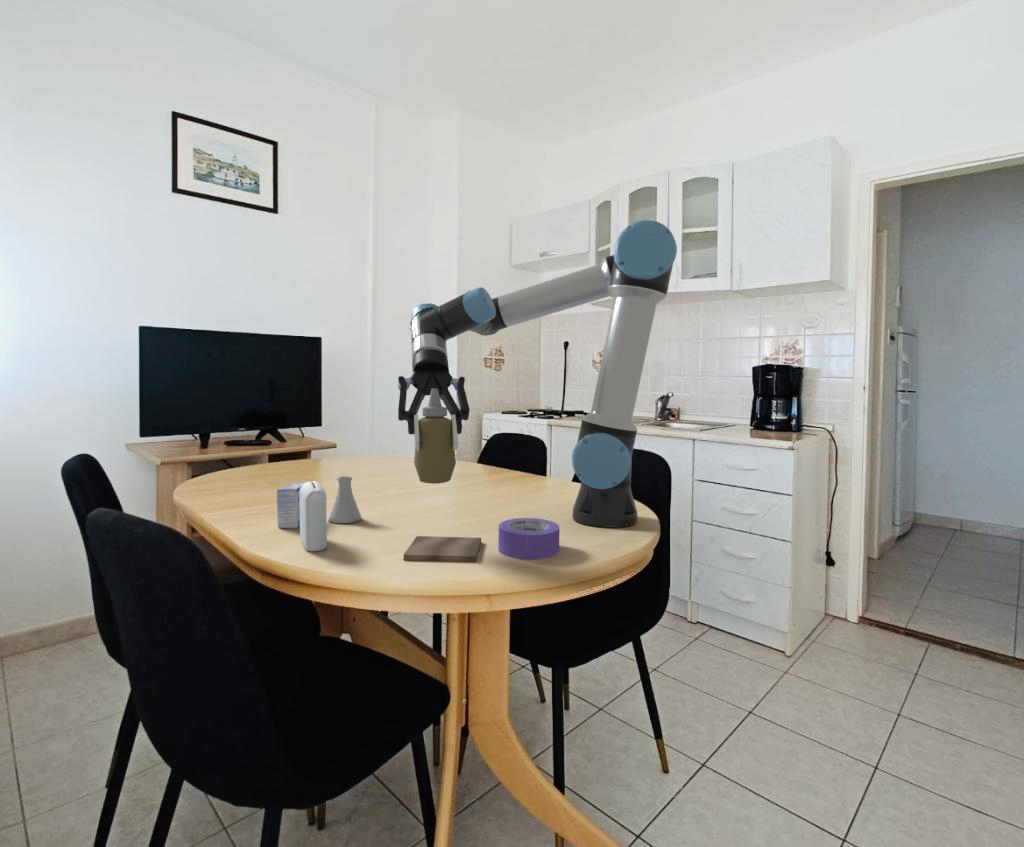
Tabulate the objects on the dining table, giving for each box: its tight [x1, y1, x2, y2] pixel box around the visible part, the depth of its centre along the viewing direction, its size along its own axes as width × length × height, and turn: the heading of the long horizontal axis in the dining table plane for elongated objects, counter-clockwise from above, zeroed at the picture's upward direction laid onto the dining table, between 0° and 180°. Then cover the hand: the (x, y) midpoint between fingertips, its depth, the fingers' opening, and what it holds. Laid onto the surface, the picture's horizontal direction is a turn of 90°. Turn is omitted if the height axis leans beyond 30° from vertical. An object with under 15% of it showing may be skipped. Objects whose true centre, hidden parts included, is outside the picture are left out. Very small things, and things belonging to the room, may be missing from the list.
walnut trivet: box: [403, 535, 482, 563], centre depth 106 cm, size 13×12×1 cm
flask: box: [327, 475, 362, 524], centre depth 128 cm, size 7×7×10 cm
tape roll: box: [497, 517, 560, 561], centre depth 108 cm, size 12×12×5 cm
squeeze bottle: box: [413, 389, 457, 485], centre depth 108 cm, size 8×8×18 cm
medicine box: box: [276, 482, 305, 529], centre depth 124 cm, size 8×4×9 cm, turn 179°
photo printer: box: [299, 480, 328, 552], centre depth 109 cm, size 10×4×12 cm, turn 27°
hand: (436, 445), depth 104 cm, fingers closed on squeeze bottle, 6 cm apart
